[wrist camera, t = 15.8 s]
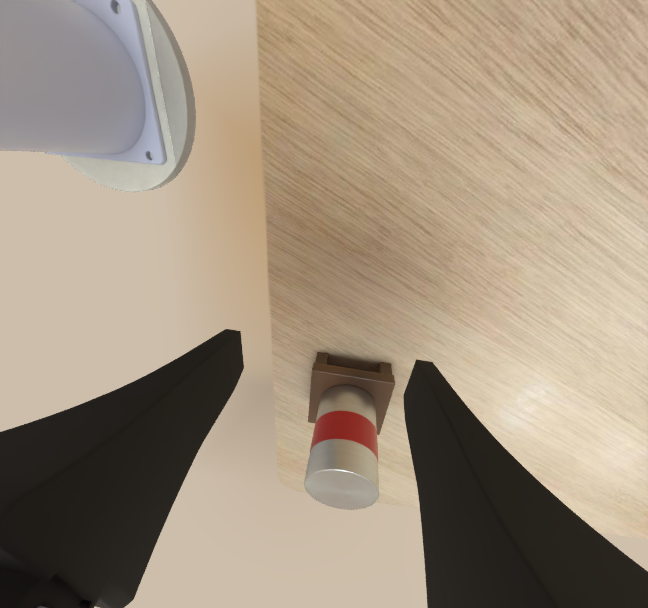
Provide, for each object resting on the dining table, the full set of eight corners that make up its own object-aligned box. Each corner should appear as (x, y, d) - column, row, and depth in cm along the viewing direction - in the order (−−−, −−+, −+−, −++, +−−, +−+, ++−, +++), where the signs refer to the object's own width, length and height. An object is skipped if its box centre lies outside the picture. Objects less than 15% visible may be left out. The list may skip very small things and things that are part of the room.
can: (311, 409, 24) (293, 493, 18) (333, 376, 22) (321, 459, 16) (359, 429, 25) (357, 517, 18) (386, 398, 22) (394, 489, 16)
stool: (312, 401, 27) (307, 422, 25) (316, 351, 24) (311, 370, 22) (378, 413, 27) (379, 435, 25) (392, 362, 23) (395, 383, 21)
